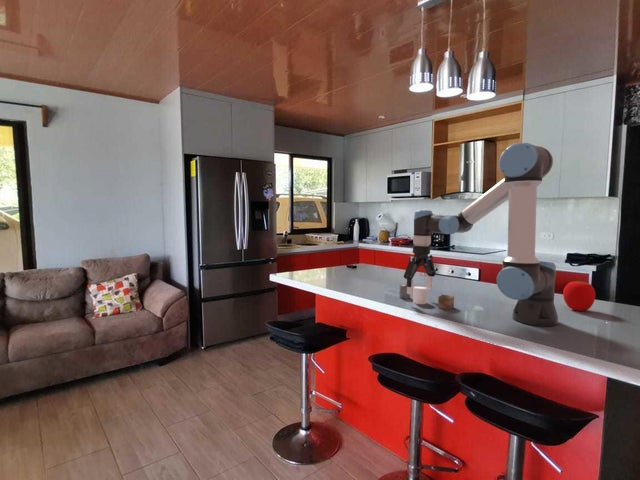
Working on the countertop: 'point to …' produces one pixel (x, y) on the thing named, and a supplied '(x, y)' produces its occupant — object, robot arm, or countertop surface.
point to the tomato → (579, 295)
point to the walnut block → (446, 302)
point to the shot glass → (420, 294)
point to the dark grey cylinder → (403, 292)
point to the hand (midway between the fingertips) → (419, 292)
